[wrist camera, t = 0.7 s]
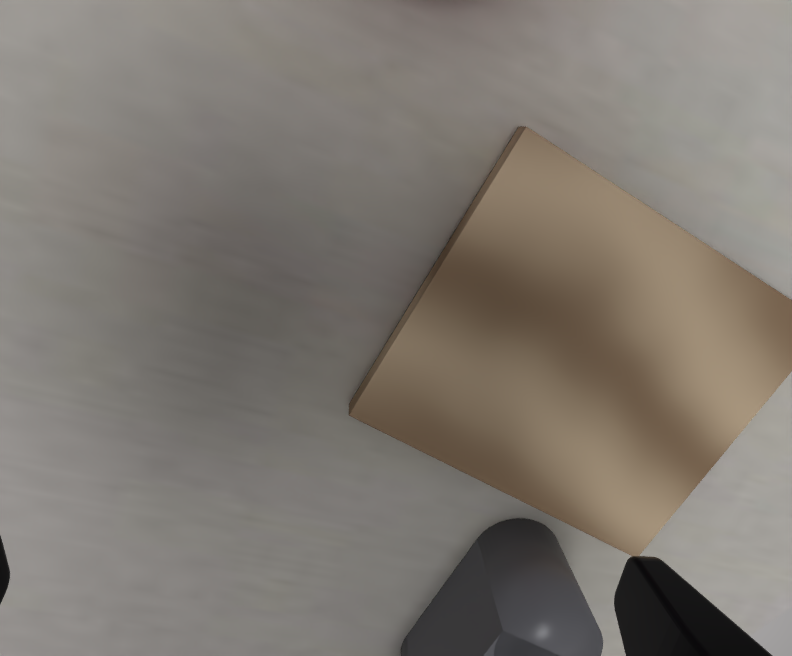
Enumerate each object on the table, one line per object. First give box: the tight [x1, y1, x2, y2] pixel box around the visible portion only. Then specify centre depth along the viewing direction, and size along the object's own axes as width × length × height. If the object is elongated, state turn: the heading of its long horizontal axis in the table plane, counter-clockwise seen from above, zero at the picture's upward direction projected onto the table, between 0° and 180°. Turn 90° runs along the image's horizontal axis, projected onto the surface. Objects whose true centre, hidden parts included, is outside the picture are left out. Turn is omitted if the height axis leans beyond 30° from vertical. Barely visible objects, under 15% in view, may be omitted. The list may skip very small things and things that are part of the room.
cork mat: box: [349, 127, 792, 556], centre depth 23 cm, size 12×14×1 cm
